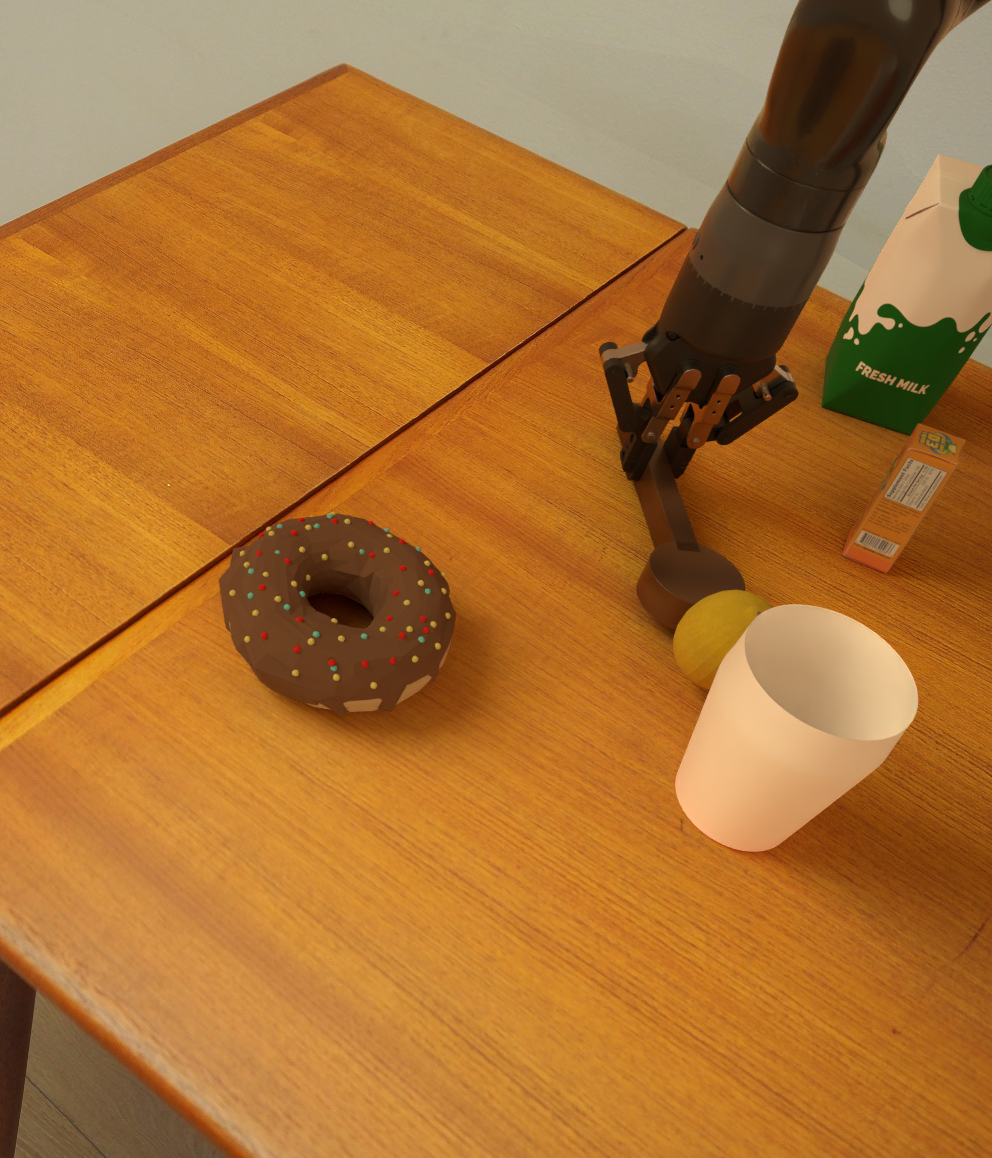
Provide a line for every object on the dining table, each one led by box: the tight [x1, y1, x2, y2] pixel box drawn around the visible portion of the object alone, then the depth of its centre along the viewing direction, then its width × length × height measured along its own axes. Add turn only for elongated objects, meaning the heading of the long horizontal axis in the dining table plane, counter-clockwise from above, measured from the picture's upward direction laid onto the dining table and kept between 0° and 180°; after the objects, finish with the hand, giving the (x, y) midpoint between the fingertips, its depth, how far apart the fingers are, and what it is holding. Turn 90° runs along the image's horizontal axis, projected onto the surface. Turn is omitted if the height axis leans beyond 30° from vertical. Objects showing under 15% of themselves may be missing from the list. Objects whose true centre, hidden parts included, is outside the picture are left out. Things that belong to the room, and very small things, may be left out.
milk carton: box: [821, 153, 992, 436], centre depth 96 cm, size 9×9×20 cm
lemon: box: [672, 590, 774, 691], centre depth 77 cm, size 6×6×8 cm
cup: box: [674, 603, 919, 853], centre depth 70 cm, size 9×9×12 cm
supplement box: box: [841, 423, 966, 574], centre depth 87 cm, size 3×3×10 cm
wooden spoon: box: [615, 401, 746, 631], centre depth 87 cm, size 21×6×2 cm, turn 178°
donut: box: [218, 511, 457, 717], centre depth 77 cm, size 14×14×5 cm
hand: (646, 474), depth 91 cm, fingers closed, pressing on wooden spoon
